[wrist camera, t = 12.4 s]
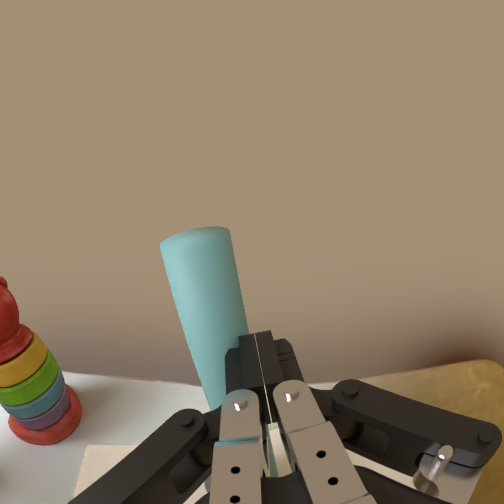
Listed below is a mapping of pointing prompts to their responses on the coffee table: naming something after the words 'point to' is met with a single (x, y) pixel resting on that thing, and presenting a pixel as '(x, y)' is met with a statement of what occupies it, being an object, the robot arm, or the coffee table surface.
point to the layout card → (108, 456)
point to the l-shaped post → (208, 305)
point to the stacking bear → (32, 381)
